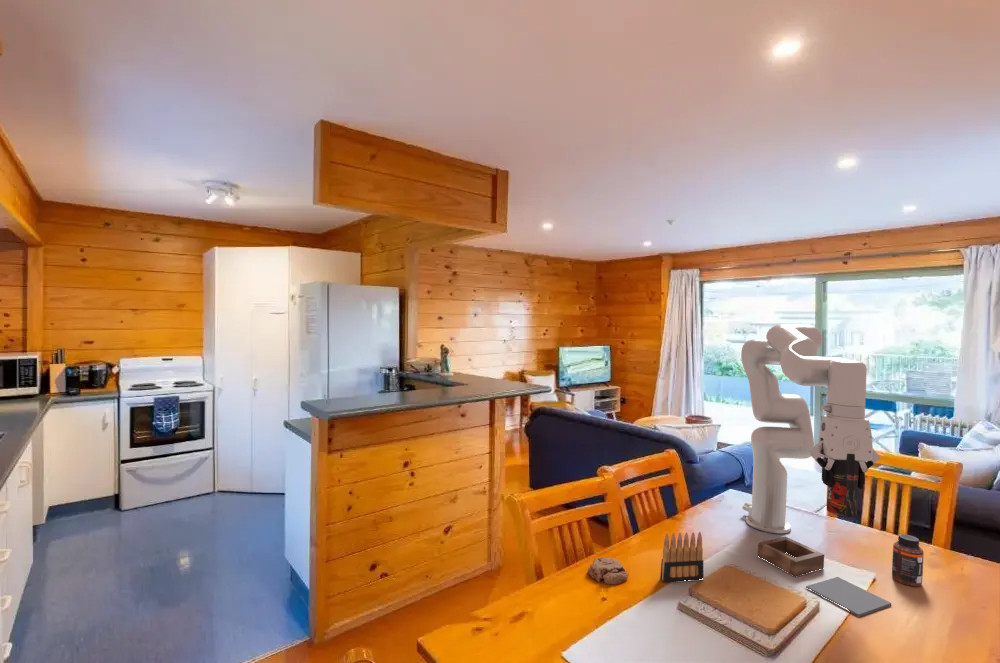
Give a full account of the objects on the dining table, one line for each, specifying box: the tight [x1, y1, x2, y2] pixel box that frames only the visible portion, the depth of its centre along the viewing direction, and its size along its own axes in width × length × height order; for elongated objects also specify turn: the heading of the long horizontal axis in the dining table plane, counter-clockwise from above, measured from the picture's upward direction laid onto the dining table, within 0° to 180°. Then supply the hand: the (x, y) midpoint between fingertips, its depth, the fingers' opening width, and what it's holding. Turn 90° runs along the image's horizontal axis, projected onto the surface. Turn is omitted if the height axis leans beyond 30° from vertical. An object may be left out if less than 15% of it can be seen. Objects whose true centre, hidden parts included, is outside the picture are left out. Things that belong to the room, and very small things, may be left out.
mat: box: [805, 576, 892, 618], centre depth 115 cm, size 12×12×1 cm
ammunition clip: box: [659, 531, 704, 584], centre depth 120 cm, size 11×2×12 cm, turn 98°
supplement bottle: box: [891, 533, 925, 587], centre depth 122 cm, size 6×6×11 cm
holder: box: [756, 536, 825, 578], centre depth 130 cm, size 11×11×4 cm
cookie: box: [587, 557, 629, 586], centre depth 123 cm, size 10×11×3 cm
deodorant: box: [826, 454, 859, 518], centre depth 116 cm, size 6×6×15 cm
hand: (842, 485), depth 116 cm, fingers closed on deodorant, 6 cm apart
